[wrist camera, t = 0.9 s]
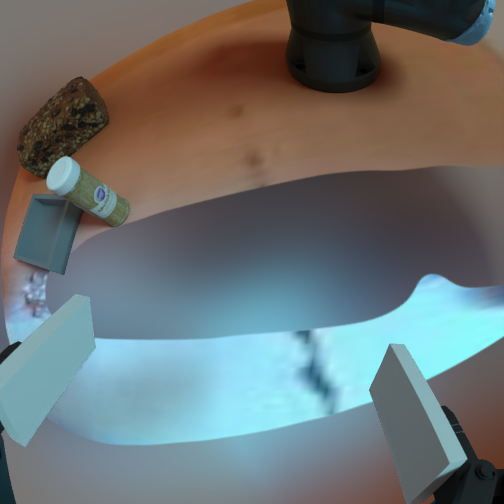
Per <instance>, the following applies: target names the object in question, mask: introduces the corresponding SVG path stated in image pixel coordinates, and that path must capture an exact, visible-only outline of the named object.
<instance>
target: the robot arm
mask: <svg viewBox="0 0 504 504" xmlns="http://www.w3.org/2000/svg"><path fill="white" fill-rule="evenodd" d="M286 2H287V6H288V11H289V16H290V21H291V26H292V27H291V32H290V36H289V40H288V44H287V49H286V61H287V66H288V69H289V72H290V73H291V75H292V76H293V77H294V78H295V79H296V80H297V81H299V82H300V83H302V84H304V85H306V86H308V87H310V88H313V89H316V90H321V91H326V92H350V91H355V90H359V89H362V88H364V87H366V86H368V85H370V84H371V83H372V82H373V81H374V80H375V79H376V78H377V76H378V74H379V70H380V54H379V51H378V48H377V45H376V42H375V39H374V36H373V33H372V30H371V22H375V23H381V24H386V25H390V26H395V27H399V28H403V29H407V30H411V31H414V32H418V33H422V34H425V35H428V36H432V37H435V38H438V39H440V40H442V41H446V42H454V43H457V44H461V45H465V46H470V45H474V44H476V43H478V42H479V41H480V40H481V39H482V38H483V37H484V36H485V35H486V33H487V31H488V30H489V28H490V26H491V23H492V20H493V16H492V13H493V11H494V10H495V0H286ZM95 348H96V346H95V339H94V332H93V324H92V316H91V308H90V298H89V297H85V296H81V295H77V294H75V295H74V296H73V297H72V298H71V299H69V300H68V301H67V302H66V303H65V304H64V305H63V306H61V308H59V309H58V310H57V311H56V312H55V313H54V314H53V315H51V316H50V317H49V318H48V319H47V320H46V321H45V322H44V323H43V324H42V325H41V326H40V327H38V328H37V329H36V330H35V331H34V332H33V333H32V334H31V335H30V336H29V337H28V338H27V339H26V340H25V341H24V342H23V343H21V342H19V341H18V342H16V343H14V344H12V345H10V346H8V347H7V348H6V349H5V350H4V351H3V352H2V353H1V354H0V504H16V502H15V499H14V494H13V490H12V486H11V481H10V477H9V472H8V466H7V461H6V455H5V448H4V441H3V438H2V436H1V433H2V431H3V430H4V429H5V430H6V432H7V434H8V435H9V437H10V439H12V440H14V441H15V442H17V443H19V444H20V445H22V446H24V447H26V446H27V444H28V443H29V441H30V440H31V438H32V437H33V435H34V434H35V432H36V430H37V429H38V428H39V426H40V425H41V423H42V422H43V420H44V419H45V417H46V416H47V414H48V413H49V411H50V410H51V409H52V407H53V406H54V404H55V403H56V401H57V400H58V399H59V397H60V396H61V394H62V393H63V392H64V390H65V389H66V387H67V386H68V385H69V383H70V382H71V380H72V379H73V378H74V376H75V375H76V374H77V372H78V371H79V370H80V368H81V367H82V365H83V364H84V363H85V361H86V360H87V359H88V357H89V356H90V355H91V353H92V352H93V351H94V350H95ZM369 391H370V394H371V397H372V399H373V402H374V405H375V408H376V411H377V413H378V416H379V419H380V422H381V425H382V428H383V431H384V434H385V437H386V440H387V443H388V445H389V449H390V452H391V455H392V458H393V461H394V465H395V468H396V471H397V474H398V478H399V481H400V484H401V488H402V491H403V494H404V498H405V501H406V504H416V503H421V502H424V501H425V500H426V499H427V498H429V497H430V496H431V495H432V494H434V497H435V500H434V501H433V502H432V503H431V504H504V469H496V468H495V467H494V466H493V465H492V463H490V462H489V461H487V460H482V459H481V460H479V459H478V458H477V456H476V454H475V452H474V450H473V448H472V446H471V445H470V442H469V440H468V439H467V437H466V435H465V433H463V429H462V428H461V426H460V425H459V422H458V420H457V418H456V417H455V415H454V413H453V412H451V411H450V410H449V409H448V408H447V407H446V406H440V405H439V403H438V401H437V399H436V398H435V396H434V394H433V392H432V391H431V389H430V387H429V385H428V384H427V382H426V380H425V378H424V377H423V375H422V373H421V371H420V370H419V368H418V366H417V365H416V363H415V361H414V360H413V358H412V356H411V355H410V353H409V351H408V350H407V348H406V346H405V345H404V344H389V347H388V349H387V351H386V354H385V356H384V358H383V361H382V363H381V365H380V367H379V370H378V372H377V374H376V376H375V378H374V380H373V382H372V384H371V387H370V389H369Z"/></svg>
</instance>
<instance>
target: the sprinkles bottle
mask: <svg viewBox="0 0 504 504" xmlns="http://www.w3.org/2000/svg"><path fill="white" fill-rule="evenodd" d="M46 183H47V187H48V189H49V190H50V191H52V192H53V193H55V194H57V195H58V196H62V197H64V198H66V199H68V200H69V201H71V202H72V203H73V204H74V205H76V206H78V207H79V208H81V209H83V210H84V211H86V212H88V213H89V214H91V215H93V216H94V217H96V218H98V219H101V220H103V221H104V222H106V223H107V224H108V225H109V226H112V227H116V226H119V225H120V224H122V223H123V222H124V221H125V220H126V218H127V216H128V214H129V204H128V202H127V201H126V200H125V199H123V198H121V197H120V196H119V195H117V194H116V193H115V192H114V191H113V190H111V189H110V188H109V187H107V186H106V185H105V184H103V183H102V182H101V181H99V180H98V179H96V178H95V177H94V176H92V175H91V174H89V173H88V172H86V171H85V170H84V169H82V168H81V167H80V166H79V164H78V163H77V162H76V161H74V160H73V159H72V158H70V157H67V156H66V157H62V158H60V159H59V160H58V161H56V162H55V164H54V165H53V166H52V168H51V169H50V171H49V173H48V176H47V182H46Z"/></svg>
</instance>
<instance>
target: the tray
mask: <svg viewBox="0 0 504 504" xmlns="http://www.w3.org/2000/svg"><path fill="white" fill-rule="evenodd" d="M82 212H83V209H81V208H79V207H78V206H76V205H74V204H73V203H72V202H71V201H69V200H68V199H66V198H64V197H62V196H58V195H50V194H33V196H32V199H31V202H30V205H29V207H28V210H27V213H26V216H25V219H24V222H23V226H22V229H21V232H20V235H19V239H18V242H17V246H16V249H15V253H14V257H13V258H15V259H18V260H21V261H24V262H26V263H29V264H32V265H35V266H38V267H41V268H44V269H47V270H50V271H53V272H56V273H59V274H63V275H64V274H65V270H66V266H67V262H68V258H69V254H70V251H71V247H72V244H73V240H74V237H75V234H76V230H77V227H78V224H79V221H80V218H81V215H82Z"/></svg>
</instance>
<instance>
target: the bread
mask: <svg viewBox="0 0 504 504" xmlns="http://www.w3.org/2000/svg"><path fill="white" fill-rule="evenodd" d="M108 120H109V119H108V115H107V111H106V106H105V103H104V101H103V99H102V98H101V96H100V95H99V93H98V92H97V90H96V89H95V88H94V87H93V86H92V84H91V83H90V82H89V81H88V80H87V79H84V78H83V77H77V78H75V79H73V80H71V81H70V82H69V83H68V84H66V85H65V86H64V87H63V88H61V90H59V91H58V92H57V94H56V95H55V96H53V97H52V98H50V99H49V101H48V102H47V103H46V104H45V105H44V106H43V107H42V108H41V109H40V111H39V112H38V113H37V114H35V115H34V117H33V118H32V119H31V120H30V121H29V122H28V123H27V124H26V125H25V127H24V128H23V129H22V130H21V132H20V136H19V141H18V146H17V150H18V154H19V157H20V158H19V161H20V162H21V165H22V166H23V168H25V169H26V170H27V171H30V172H31V173H33V174H34V175H36V176H37V177H41V178H47V176H48V173H49V171H50V169H51V168H52V166H53V165H54V164H55V162H56V161H58V160H59V159H60V158H62V157H66V156H67V157H70V156H71V155H72V154H73V153H74V152H76V151H77V150H78V149H79V148H80V147H81V146H82V144H83V143H85V142H87V141H88V140H89V139H91V138H92V137H93V136H95V135H96V134H97V133H98V132H99V131H100V130H101V129H102V127H103V126H105V125H107V123H108V122H109V121H108Z"/></svg>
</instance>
